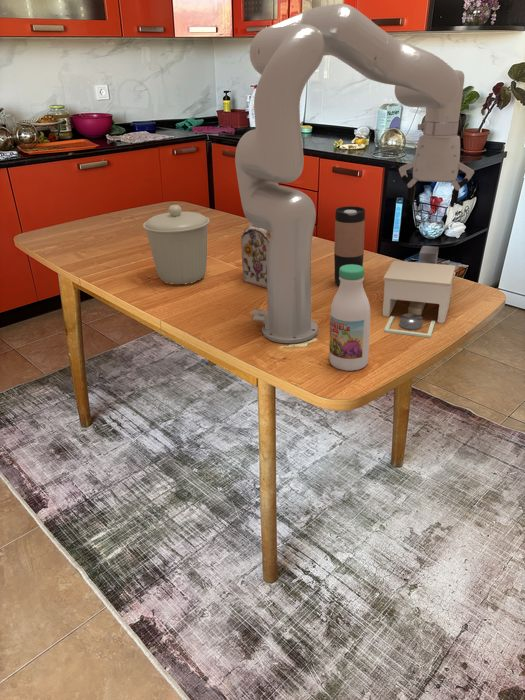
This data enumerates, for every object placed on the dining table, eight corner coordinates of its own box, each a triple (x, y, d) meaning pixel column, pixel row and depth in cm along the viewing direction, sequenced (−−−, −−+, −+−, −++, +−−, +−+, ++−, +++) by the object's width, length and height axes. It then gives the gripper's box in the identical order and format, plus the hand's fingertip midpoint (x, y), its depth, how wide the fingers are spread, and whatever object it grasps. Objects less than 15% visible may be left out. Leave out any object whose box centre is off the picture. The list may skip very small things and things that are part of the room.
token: (400, 330, 125) (401, 322, 124) (398, 321, 129) (398, 313, 128) (423, 331, 124) (424, 323, 123) (420, 321, 129) (421, 313, 128)
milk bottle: (342, 350, 117) (345, 258, 108) (375, 360, 113) (380, 265, 104) (321, 364, 112) (322, 269, 103) (355, 375, 108) (359, 277, 99)
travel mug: (345, 276, 156) (347, 204, 147) (368, 282, 151) (371, 208, 142) (328, 284, 152) (328, 210, 142) (350, 291, 147) (353, 214, 137)
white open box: (381, 316, 132) (383, 277, 127) (390, 296, 142) (393, 260, 138) (445, 323, 127) (450, 283, 122) (451, 303, 137) (455, 265, 132)
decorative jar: (273, 291, 149) (270, 224, 141) (241, 282, 156) (237, 217, 148) (301, 278, 157) (300, 214, 148) (270, 270, 164) (268, 208, 156)
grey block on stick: (405, 314, 132) (409, 274, 127) (419, 281, 150) (422, 245, 146) (423, 316, 131) (427, 276, 126) (434, 283, 149) (438, 246, 144)
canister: (181, 265, 171) (173, 195, 162) (227, 274, 162) (221, 201, 152) (137, 283, 159) (126, 208, 149) (184, 295, 149) (175, 216, 139)
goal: (384, 331, 124) (384, 329, 124) (390, 318, 131) (390, 316, 130) (430, 337, 121) (430, 335, 120) (434, 323, 127) (435, 321, 127)
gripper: (400, 130, 129) (393, 205, 137) (479, 132, 123) (467, 210, 131) (405, 127, 135) (398, 199, 143) (481, 129, 129) (470, 204, 137)
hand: (431, 204), depth 137 cm, fingers open, 9 cm apart
